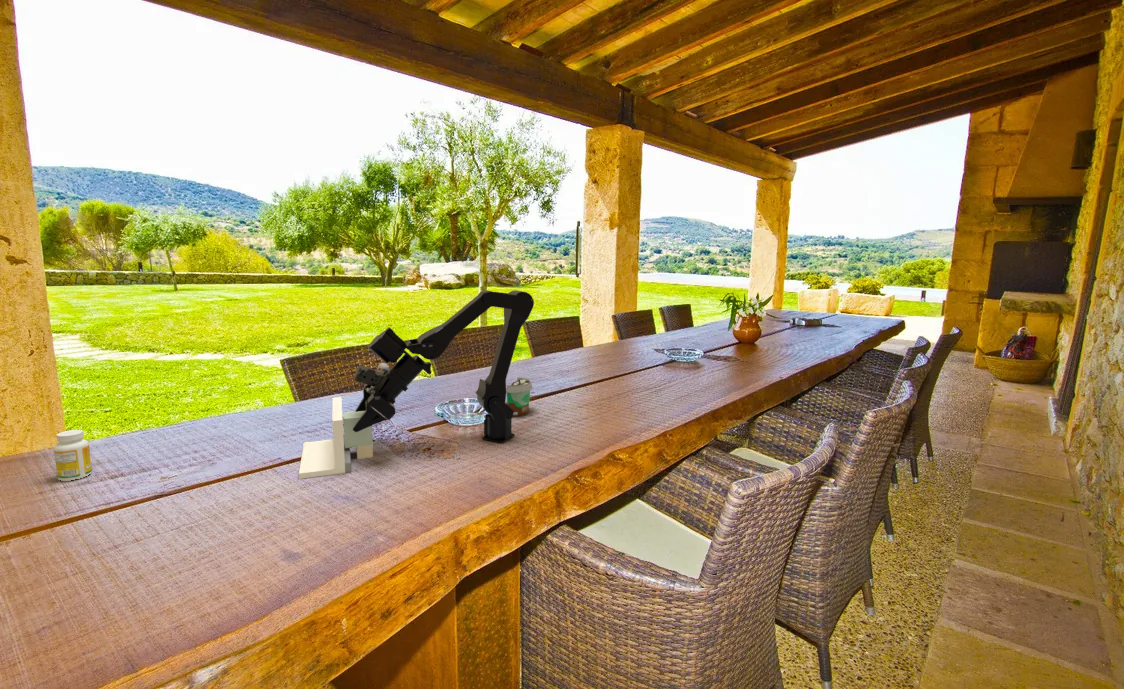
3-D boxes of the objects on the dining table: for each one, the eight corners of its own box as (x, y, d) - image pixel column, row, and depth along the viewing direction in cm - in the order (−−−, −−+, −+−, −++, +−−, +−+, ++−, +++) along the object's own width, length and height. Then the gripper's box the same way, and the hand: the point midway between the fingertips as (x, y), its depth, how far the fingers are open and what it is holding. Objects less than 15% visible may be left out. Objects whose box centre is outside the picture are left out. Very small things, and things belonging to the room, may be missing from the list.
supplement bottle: (67, 483, 106) (60, 438, 104) (52, 479, 108) (45, 434, 106) (98, 474, 111) (92, 430, 109) (83, 469, 112) (77, 427, 111)
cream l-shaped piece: (348, 442, 132) (346, 396, 130) (351, 472, 114) (348, 419, 112) (304, 447, 128) (301, 399, 126) (299, 478, 110) (295, 424, 108)
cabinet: (372, 449, 127) (371, 410, 126) (374, 456, 123) (372, 416, 121) (345, 452, 125) (343, 412, 123) (345, 460, 120) (343, 418, 119)
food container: (526, 420, 153) (526, 387, 151) (506, 418, 154) (506, 385, 152) (536, 408, 165) (536, 377, 163) (517, 407, 166) (518, 376, 164)
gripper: (372, 347, 130) (326, 393, 127) (377, 361, 113) (324, 415, 111) (405, 375, 134) (361, 421, 132) (415, 393, 118) (365, 445, 115)
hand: (353, 424), depth 122 cm, fingers open, 9 cm apart
